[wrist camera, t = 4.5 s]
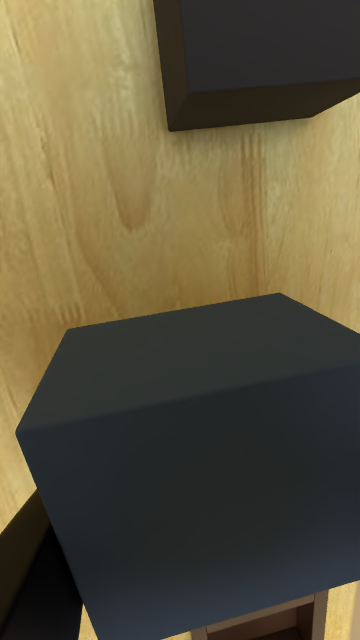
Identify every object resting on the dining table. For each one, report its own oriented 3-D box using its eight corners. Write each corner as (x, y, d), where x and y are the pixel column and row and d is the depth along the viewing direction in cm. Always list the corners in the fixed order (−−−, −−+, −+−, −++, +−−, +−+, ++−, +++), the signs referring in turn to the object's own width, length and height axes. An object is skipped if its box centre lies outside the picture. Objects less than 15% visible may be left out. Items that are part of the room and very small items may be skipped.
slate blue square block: (280, 291, 8) (399, 352, 5) (280, 452, 11) (363, 580, 7) (66, 328, 8) (12, 432, 4) (112, 492, 10) (103, 658, 6)
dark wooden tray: (310, 461, 19) (337, 497, 17) (303, 619, 25) (322, 662, 23) (166, 497, 18) (172, 541, 15) (196, 652, 24) (204, 701, 22)
